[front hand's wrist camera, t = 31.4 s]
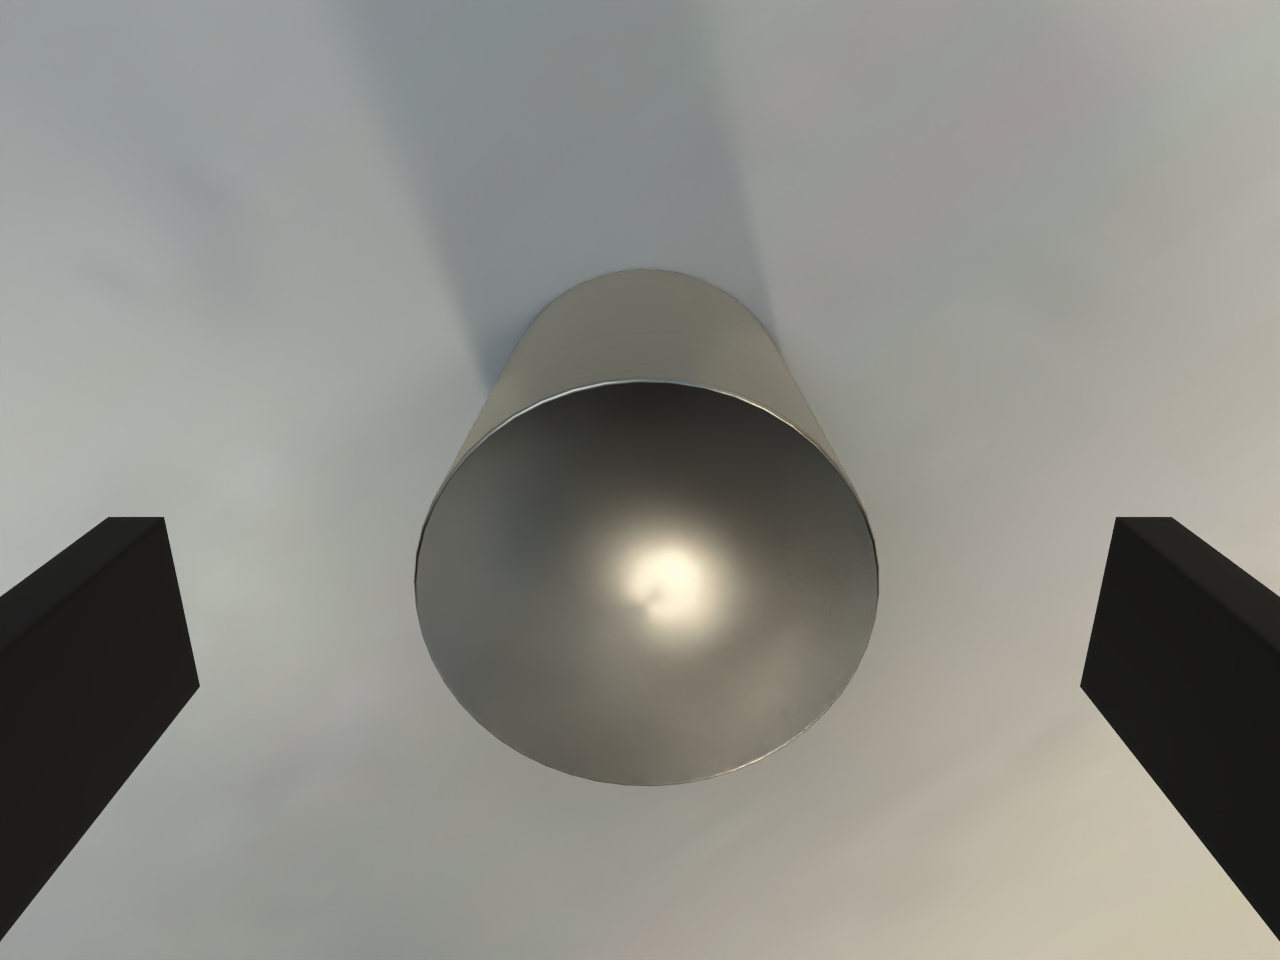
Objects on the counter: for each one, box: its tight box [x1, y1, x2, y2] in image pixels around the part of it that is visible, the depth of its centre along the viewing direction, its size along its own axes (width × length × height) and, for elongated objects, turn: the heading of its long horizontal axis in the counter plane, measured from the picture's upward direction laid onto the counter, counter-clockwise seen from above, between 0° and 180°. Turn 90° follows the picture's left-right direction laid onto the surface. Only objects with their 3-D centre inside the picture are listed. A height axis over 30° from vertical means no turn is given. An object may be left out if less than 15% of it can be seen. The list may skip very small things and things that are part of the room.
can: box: [414, 269, 879, 786], centre depth 16 cm, size 6×6×8 cm
